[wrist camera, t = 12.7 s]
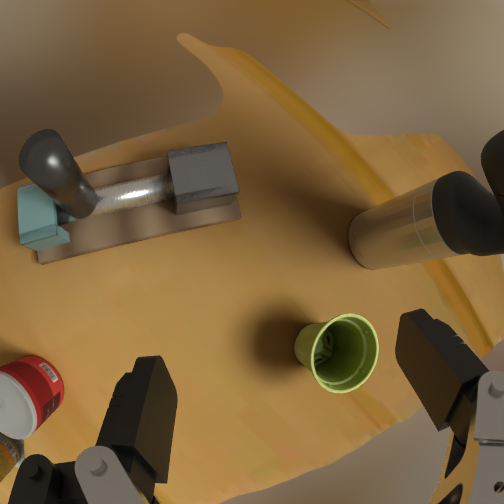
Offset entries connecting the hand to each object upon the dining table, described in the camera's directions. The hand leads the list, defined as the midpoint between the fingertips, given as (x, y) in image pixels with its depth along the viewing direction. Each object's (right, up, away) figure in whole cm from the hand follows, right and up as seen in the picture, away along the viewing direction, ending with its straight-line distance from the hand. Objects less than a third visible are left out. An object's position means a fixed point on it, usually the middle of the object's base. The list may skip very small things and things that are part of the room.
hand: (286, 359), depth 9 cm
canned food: (-29, -14, +20) cm, 38 cm away
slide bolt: (-18, +9, +24) cm, 32 cm away
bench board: (-17, +10, +27) cm, 33 cm away
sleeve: (-8, +12, +28) cm, 31 cm away
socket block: (-26, +7, +23) cm, 35 cm away
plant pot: (+7, -9, +31) cm, 33 cm away
